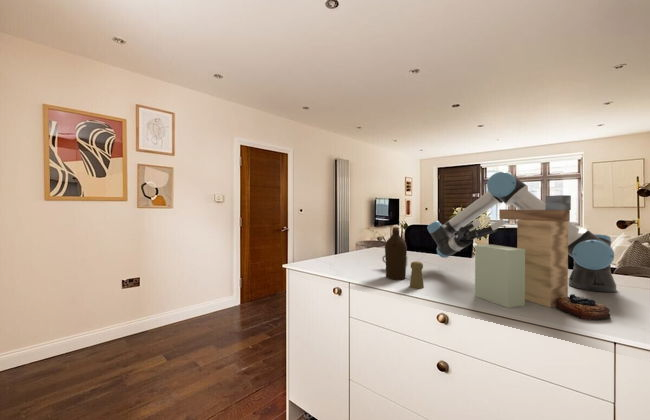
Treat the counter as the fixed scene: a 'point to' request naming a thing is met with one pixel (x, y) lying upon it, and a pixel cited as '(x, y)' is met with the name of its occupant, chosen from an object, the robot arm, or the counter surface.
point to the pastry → (582, 308)
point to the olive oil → (395, 256)
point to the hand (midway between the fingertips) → (491, 221)
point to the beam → (554, 210)
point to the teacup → (385, 261)
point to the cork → (416, 275)
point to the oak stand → (544, 259)
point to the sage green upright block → (500, 274)
